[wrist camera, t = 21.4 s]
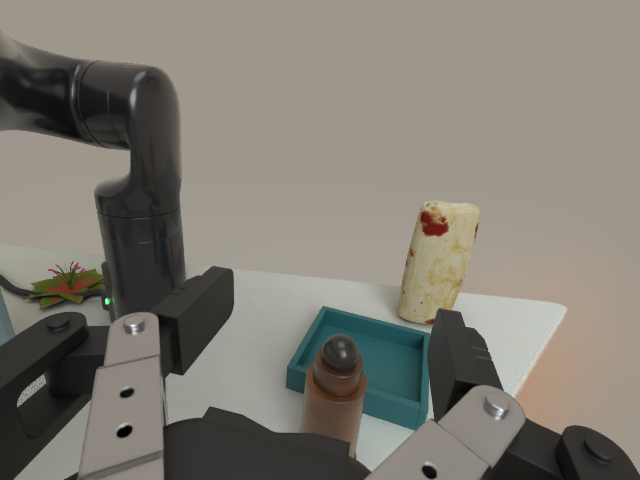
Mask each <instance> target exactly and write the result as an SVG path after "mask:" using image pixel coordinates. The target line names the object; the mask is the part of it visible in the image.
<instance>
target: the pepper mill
mask: <svg viewBox="0 0 640 480" xmlns="http://www.w3.org/2000/svg"><path fill="white" fill-rule="evenodd" d="M366 390H367V377H366V375H365V373H364V371H363V359H362V356H361V355H360V353H359V351H358V347H357V345H356V343H355V341H354V340H353V339H352V338H351V337H349V336H347V335H345V334H335V335H332V336H331V337H329V338H328V339H327V340H326V341H325V343H324V345H323V346H322V347H321V348H320V349H319V350H318V351H317V352H316V355H315V361H314V362H313V363H312V364H311V365H310V366H309V368H308V370H307V372H306V380H305V391H304V402H303V413H302V424H301V433H315V434H319V435H323V436H327V437H331V438H335V439H338V440H342V441H346V442H350V449H349V456H351V457H352V458H354V459H356V452H355V450H356V444H357V439H358V433H359V428H360V423H361V417H362V412H363V406H364V401H365V396H366Z"/></svg>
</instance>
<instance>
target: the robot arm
mask: <svg viewBox="0 0 640 480" xmlns="http://www.w3.org/2000/svg"><path fill="white" fill-rule="evenodd" d="M5 130H21V131H29V132H36V133H40V134H46V135H51V136H55V137H60V138H64V139H68V140H72V141H76V142H80V143H84V144H88V145H92V146H96V147H101V148H107V149H116V150H126V151H130V171H129V172H128V173H127V174H126V175H124V176H120V177H116V178H112V179H109V180H106V181H103V182H101V183H99V184H98V185H97V186H96V188H95V191H94V197H95V203H96V209H97V214H98V220H99V226H100V231H101V236H102V242H103V248H104V253H105V259H106V261H104V262H103V263H102V265H101V268H102V273H103V279H104V284H105V289H89V290H86V291H84V292H76V293H66V294H74V295H75V296H84V297H83V298H85V297H88V296H90V295H101V299H102V305H103V309H104V310H107V311H109V312H110V317H111V323H112V324H111V326H87V321H86V317H85V315H83V314H81V313H78V312H63V313H58V314H54V315H51V316H48V317H46V318H44V319H42V320H40V321H39V322H37V323H35V324H34V325H32V326H31V327H29V328H28V329H26V330H25V331H23V332H21V333H20V334H18V335H17V336H15V337H14V338H12V339H10V340H9V341H7V342H6V343H4V344H3V345H1V346H0V480H13V479H14V478H15V477H16V476H17V475H18V474H19V473H20V472H21V471H22V470H23V469H24V468H25V467H26V466H27V465H28V464H29V463H30V462H31V461H32V460H33V459H34V458H35V457H36V456H37V455H38V454H39V453H40V451H41V450H42V449H43V448H44V447H45V446H46V445H47V444H48V443H49V442H50V441H51V440H52V439H53V438H54V437H55V436H56V435H57V434H58V433H59V432H60V431H61V430H62V429H63V428H64V427H65V426H66V425H67V424H68V423H69V421H70V420H71V419H72V418H73V417H74V416H75V415H76V414H77V413H78V412H79V411H80V410H81V409H82V408H83V407H84V406H85V405H86V404H87V403H88V402H89V401H90V400H91V404H90V410H89V415H88V421H87V427H86V432H85V438H84V444H83V450H82V455H81V461H80V467H79V472H77V473H75V474H74V475H72V476H70V477H68V478H66V479H64V480H640V475H639V473H638V472H637V470H636V468H635V467H634V465H633V463H632V462H631V460H630V459H629V457H628V456H627V455H626V453H625V452H624V451H623V450H622V449H621V448H620V447H619V446H618V445H616V444H615V443H614V442H613V441H611V440H610V439H609V438H607V437H605V436H604V435H602V434H601V433H599V432H597V431H594V430H592V429H590V428H587V427H583V426H576V425H574V426H569V427H567V428H565V430H564V431H563V433H562V435H560V434H558V433H556V432H553V431H551V430H549V429H547V428H545V427H543V426H541V425H538V424H536V423H534V422H532V421H531V420H529V419H527V418H526V417H525V413H524V410H523V408H522V407H521V405H520V404H519V403H518V402H517V401H516V400H515V399H514V398H513V397H512V396H510V395H509V394H508V393H506V392H504V390H503V388H502V385H501V382H500V380H499V377H498V374H497V372H496V369H495V366H494V364H493V361H491V359H492V358H491V356H490V353H489V352H488V348H487V345H486V343H485V340H484V338H483V337H482V336H481V335H480V334H479V333H478V332H477V331H476V330H475V329H474V328H469V327H465V324H464V321H463V318H462V314H461V312H458V311H453V310H447V309H442V308H439V309H438V310H437V313H436V316H435V320H434V324H433V328H432V332H431V336H430V339H429V344H428V350H427V362H428V370H429V379H430V387H431V395H432V404H433V412H434V419H432V418H431V419H428V420H427V421H426V422H425V423H423V424H422V425H421V426H420V427H419V428H418V429H417V430H416V431H415V432H414V433H413V434H412V435H411V436H410V437H409V438H408V439H407V440H405V441H404V442H403V443H402V444H401V445H400V446H399V447H398V448H397V449H396V450H395V451H394V452H393V453H392V454H391V455H390V456H389V457H387V458H386V459H385V460H384V461H383V462H382V463H381V464H380V465H379V466H378V467H377V468H376V469H375V470H374V471H373V472H371V471H370V470H369V469H367V468H366V467H365V466H364V465H363V464H361V463H360V462H359V461H357V460H356V459H354V458H352V457H351V456H349V449H350V442H346V441H342V440H338V439H335V438H331V437H327V436H323V435H319V434H315V433H276V432H273V431H270V430H269V429H267V428H265V427H263V426H261V425H260V424H258V423H256V422H254V421H253V420H251V419H249V418H247V417H245V416H244V415H241V414H237V413H233V412H230V411H226V410H222V409H218V408H214V407H209V408H208V410H207V412H206V413H205V415H204V416H203V418H193V419H186V420H182V421H178V422H175V423H172V424H168V409H167V393H166V381H165V378H166V377H167V376H168V374H169V373H174V374H178V375H182V376H183V375H184V374H185V372H186V371H187V370H188V369H189V367H190V366H191V365H192V364H193V362H194V361H195V360H196V359H197V357H198V356H199V355H200V354H201V352H202V351H203V350H204V349H205V347H206V346H207V345H208V344H209V342H210V341H211V340H212V339H213V337H214V336H215V335H216V334H217V332H218V331H219V330H220V329H221V327H222V326H223V325H224V324H225V322H226V321H227V320H228V319H229V317H230V315H231V313H232V310H233V306H234V275H233V271H232V270H231V269H227V268H222V267H217V266H212V267H211V268H210V269H209V270H207V271H206V272H205V273H204V274H203V275H202V276H199V275H198V276H196V277H193V278H191V279H189V280H186V273H185V261H184V246H183V233H182V221H181V207H180V188H181V181H182V164H181V114H180V105H179V99H178V95H177V91H176V89H175V86H174V84H173V82H172V80H171V79H170V77H169V76H168V75H167V74H166V73H165V72H164V71H163V70H162V69H160V68H158V67H155V66H151V65H143V64H134V63H123V62H112V61H101V60H89V59H78V58H72V57H67V56H63V55H59V54H55V53H51V52H48V51H44V50H41V49H37V48H35V47H31V46H28V45H26V44H23V43H21V42H18V41H16V40H14V39H12V38H10V37H9V36H7V35H5V34H4V33H3V32H2V31H1V30H0V131H5ZM0 284H1V285H2V286H3V287H4V288H5V289H7V290H8V291H10V292H12V293H15V294H18V295H22V296H26V297H28V296H29V294H33V295H36V297H32V298H41V299H42V298H43V297H44V296H37V295H40V294H44V293H45V292H33V291H29V290H24V289H20V288H17V287H15V286H14V285H12V284H11V283H10V282H8V281H7V280H6V279H5V278H4V277H3V276H2V275H0ZM47 296H52V297H58V298H60V297H62V296H60V294H57V295H47ZM42 374H44V376H45V380H46V384H45V385H44V386H43V387H41V388H40V389H39V390H38V391H37V392H36V393H34V394H33V395H32V396H31V397H30V398H28V399H27V400H26V401H25V402H24V403H23V404H21V405H20V406H19V407H18V408H17V401H18V398H19V396H20V394H21V393H22V392H23V390H24V389H25V388H26V387H28V386H29V385H30V384H31V383H32V382H34V381H35V380H36V379H37V378H39V377H40V376H41V375H42Z"/></svg>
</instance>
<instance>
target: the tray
mask: <svg viewBox="0 0 640 480" xmlns="http://www.w3.org/2000/svg"><path fill="white" fill-rule="evenodd" d="M335 334H345V335H347V336H349V337H351V338H352V339H353V340H354V341H355V343H356V345H357V347H358V351H359V353H360V355H361V356H362V359H363V371H364V373H365V375H366V377H367V390H366V396H365V401H364V406H363V412H362V413H365V414H368V415H371V416H374V417H377V418H380V419H383V420H386V421H389V422H392V423H395V424H398V425H401V426H404V427H408V428H411V429H414V430H417V429H418V428H419V427H420V426H421V425H422V424H423V423H425V420H426V416H427V413H428V393H429V370H428V362H427V350H428V344H429V339H430V333H426V332H425V333H424V332H423V331H419V330H415V329H411V328H407V327H403V326H399V325H395V324H391V323H388V322H384V321H380V320H376V319H372V318H368V317H364V316H360V315H356V314H353V313H349V312H345V311H341V310H337V309H333V308H329V307H325V306H323V307H322V309H321V310H320V312H319V314H318V316H317V317H316V319H315V321H314V322H313V324H312V326H311V328H310V329H309V331H308V333H307V334H306V336H305V338H304V339H303V341H302V343H301V345H300V346H299V348H298V350H297V351H296V353H295V355H294V357H293V358H292V360H291V362H290V363H289V365H288V367H287V381H286V387H287V388H290V389H293V390H296V391H299V392H302V393H304V391H305V380H306V372H307V370H308V368H309V366H310V365H311V364H312V363H313V362H314V361H315V355H316V352H317V351H318V350H319V349H320V348H321V347H322V346H323V345H324V343H325V341H326V340H327V339H328V338H329V337H331V336H332V335H335Z"/></svg>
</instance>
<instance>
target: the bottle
mask: <svg viewBox="0 0 640 480" xmlns="http://www.w3.org/2000/svg"><path fill="white" fill-rule="evenodd" d="M14 337H15V333H14V330H13V327H12V324H11V321H10V318H9V314H8V311H7V308H6V305H5V302H4V299H3V295H2V292H1V289H0V346H1V345H3V344H4V343H6V342H7V341H9V340H10V339H12V338H14Z"/></svg>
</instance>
